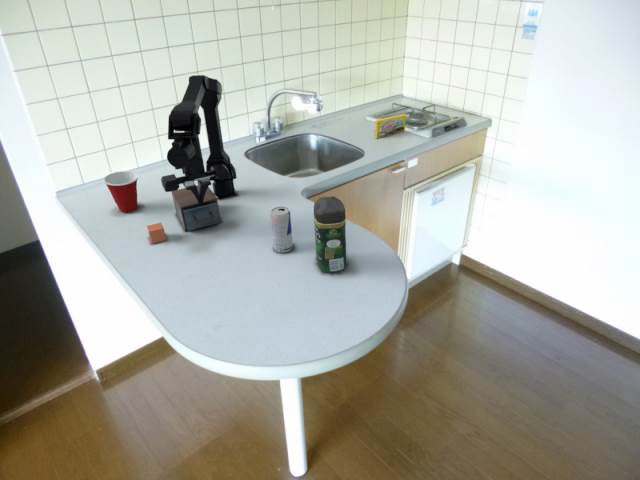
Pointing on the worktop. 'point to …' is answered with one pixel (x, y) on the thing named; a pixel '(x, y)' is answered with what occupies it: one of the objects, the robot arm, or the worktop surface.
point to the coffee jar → (330, 234)
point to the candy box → (390, 126)
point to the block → (156, 233)
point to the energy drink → (281, 229)
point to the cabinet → (189, 202)
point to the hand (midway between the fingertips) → (200, 203)
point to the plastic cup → (123, 189)
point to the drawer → (201, 215)
